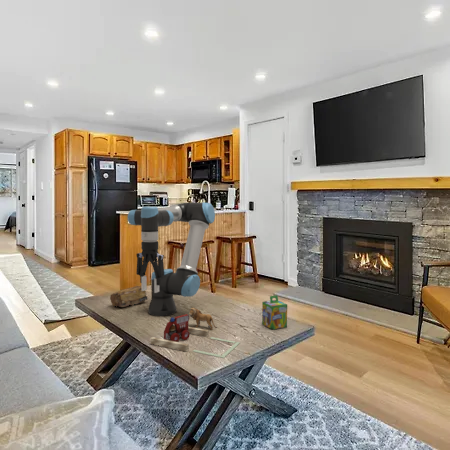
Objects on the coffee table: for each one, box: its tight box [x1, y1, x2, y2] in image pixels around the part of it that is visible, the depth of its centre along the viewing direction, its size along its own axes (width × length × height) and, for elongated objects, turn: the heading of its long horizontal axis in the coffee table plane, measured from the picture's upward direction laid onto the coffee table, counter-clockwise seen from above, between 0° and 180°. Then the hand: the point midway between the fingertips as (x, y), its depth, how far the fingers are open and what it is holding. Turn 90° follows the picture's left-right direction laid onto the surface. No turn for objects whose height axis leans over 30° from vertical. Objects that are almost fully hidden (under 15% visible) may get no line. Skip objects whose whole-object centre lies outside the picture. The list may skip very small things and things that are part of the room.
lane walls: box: [150, 326, 210, 352], centre depth 158 cm, size 18×19×2 cm
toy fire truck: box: [163, 313, 191, 342], centre depth 159 cm, size 7×12×10 cm, turn 128°
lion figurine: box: [188, 307, 218, 331], centre depth 174 cm, size 15×5×9 cm, turn 70°
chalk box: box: [261, 294, 288, 330], centre depth 176 cm, size 9×9×15 cm
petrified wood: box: [109, 285, 148, 308], centre depth 211 cm, size 19×13×10 cm
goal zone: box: [192, 336, 241, 359], centre depth 151 cm, size 14×16×1 cm
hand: (150, 291), depth 164 cm, fingers open, 6 cm apart
